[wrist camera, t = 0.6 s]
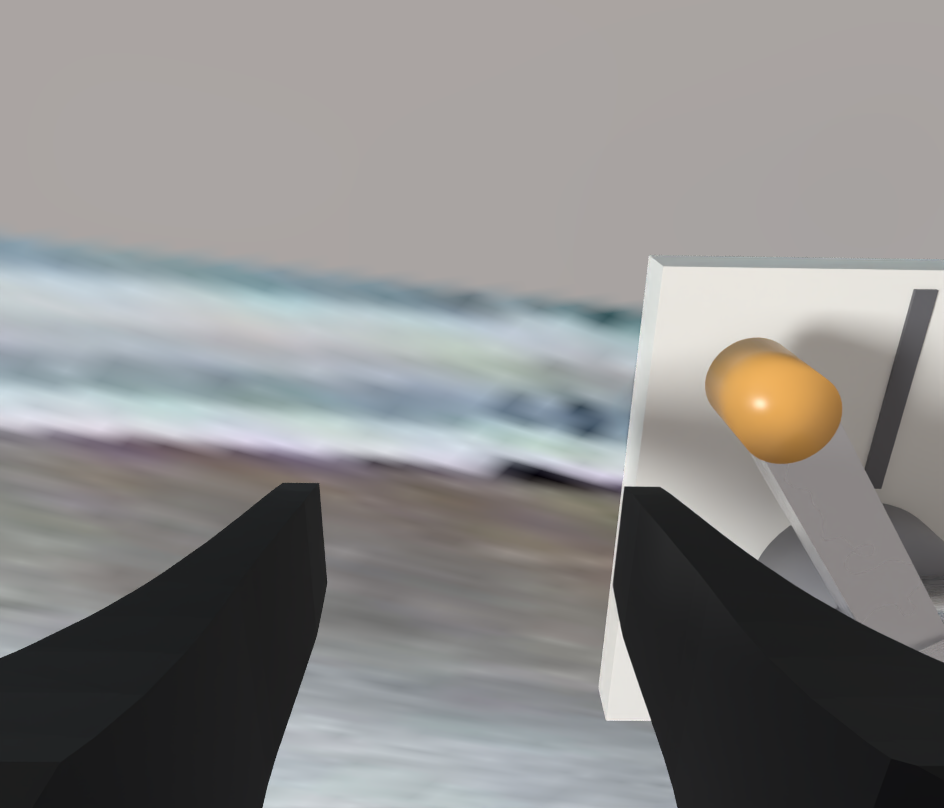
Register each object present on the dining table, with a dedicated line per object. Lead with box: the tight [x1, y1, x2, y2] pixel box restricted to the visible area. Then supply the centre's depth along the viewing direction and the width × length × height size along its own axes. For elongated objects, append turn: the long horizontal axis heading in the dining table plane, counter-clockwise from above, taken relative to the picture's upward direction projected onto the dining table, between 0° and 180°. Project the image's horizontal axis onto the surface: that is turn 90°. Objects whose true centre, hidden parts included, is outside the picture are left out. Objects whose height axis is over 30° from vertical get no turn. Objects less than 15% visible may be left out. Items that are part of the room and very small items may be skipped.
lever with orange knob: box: [705, 337, 944, 662], centre depth 16 cm, size 14×6×2 cm, turn 34°
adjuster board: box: [598, 255, 944, 721], centre depth 20 cm, size 16×14×4 cm
